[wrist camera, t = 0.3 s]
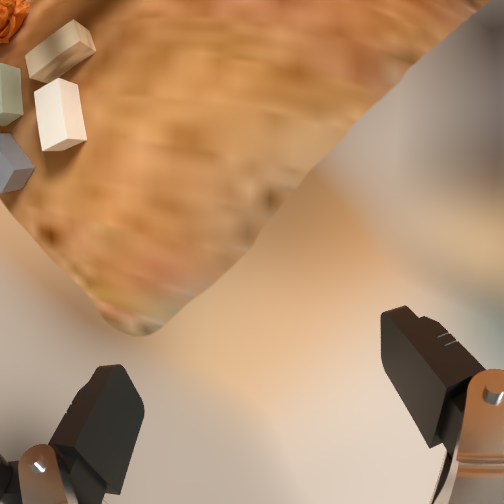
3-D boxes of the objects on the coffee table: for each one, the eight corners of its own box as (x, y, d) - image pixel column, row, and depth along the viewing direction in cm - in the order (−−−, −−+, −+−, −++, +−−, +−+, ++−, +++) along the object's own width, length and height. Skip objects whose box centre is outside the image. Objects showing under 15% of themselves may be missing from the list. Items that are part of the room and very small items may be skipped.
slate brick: (-2, 154, 32) (-23, 156, 27) (10, 133, 31) (-11, 132, 27) (22, 188, 34) (1, 193, 29) (35, 167, 33) (14, 169, 28)
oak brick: (50, 84, 30) (29, 78, 25) (44, 63, 29) (24, 55, 24) (96, 52, 29) (79, 40, 25) (90, 31, 28) (73, 19, 23)
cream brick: (54, 97, 31) (33, 92, 26) (78, 85, 30) (58, 77, 26) (63, 150, 33) (42, 151, 28) (87, 139, 33) (67, 138, 28)
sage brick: (3, 81, 29) (-17, 76, 24) (20, 68, 29) (1, 62, 24) (6, 126, 31) (-15, 125, 26) (24, 114, 31) (2, 112, 26)
